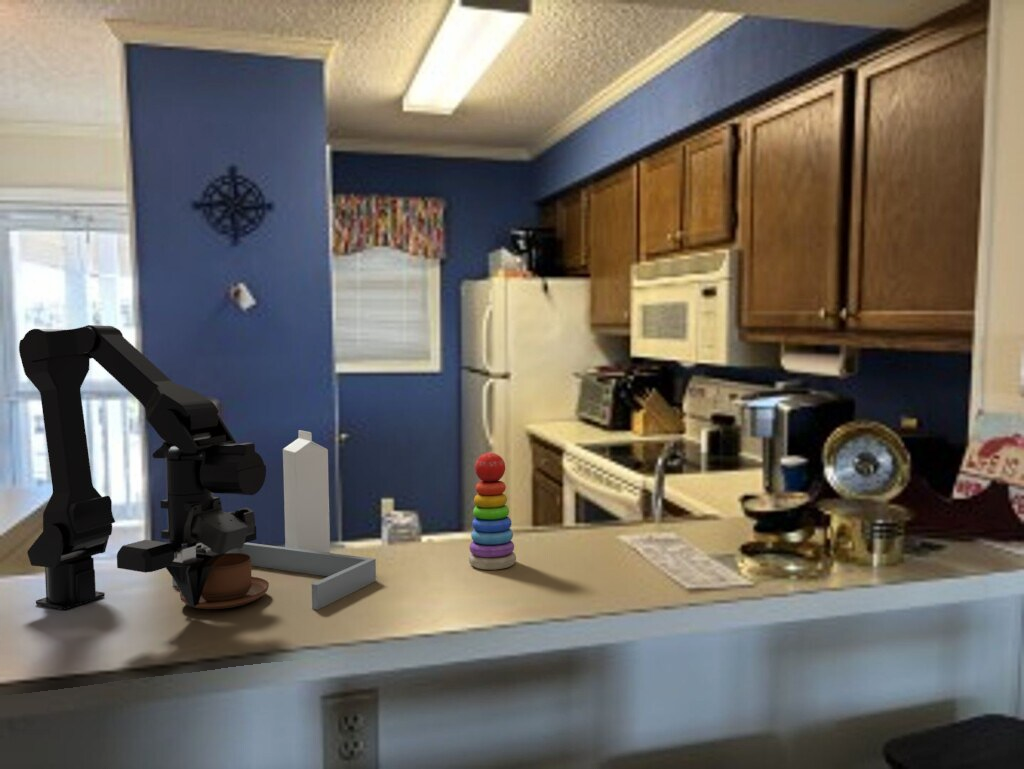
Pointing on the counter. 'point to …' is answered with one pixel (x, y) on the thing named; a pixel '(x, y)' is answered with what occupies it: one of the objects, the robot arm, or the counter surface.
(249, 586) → the cup and saucer
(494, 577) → the counter surface
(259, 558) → the u-shaped low fence
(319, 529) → the milk
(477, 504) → the stacking toy
